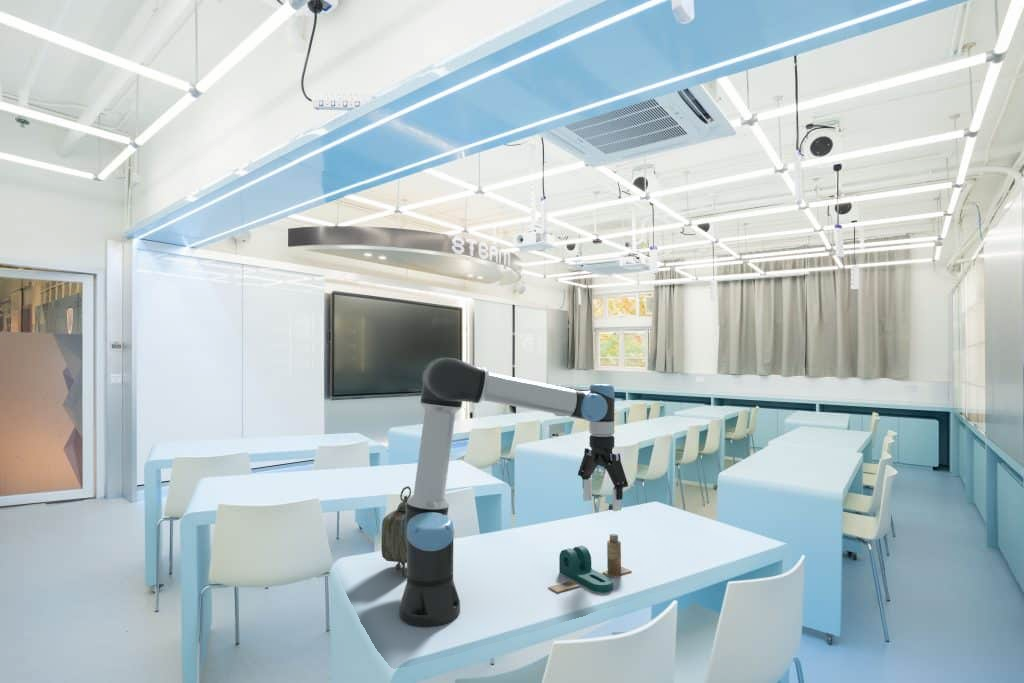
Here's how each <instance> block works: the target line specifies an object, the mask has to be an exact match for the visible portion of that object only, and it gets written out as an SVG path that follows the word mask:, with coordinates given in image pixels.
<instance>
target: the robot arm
mask: <svg viewBox="0 0 1024 683" xmlns="http://www.w3.org/2000/svg"><path fill="white" fill-rule="evenodd" d="M421 384H422V390H421V396H420V397H421V398H420V405H421V406H422V407H423V409H424V415H423V420H422V421H423V423H422V429H421V430H422V431H421V437H420V444H419V451H418V459H417V467H416V473H415V474H416V475H415V480H414V481H415V482H414V490H413V494H412V496H410V498H409V499H408V500H407V506H406V513H405V516H404V519H403V521H402V535H403V538H404V541H405V545H406V549H407V563H406V571H407V576H406V584H405V587H404V591H403V593H402V597H401V600H400V603H399V615H398V616H399V619H400V620H401V621H402V622H404V623H405V624H408V625H410V626H411V625H412V626H416V627H426V628H427V627H436V626H441V625H444V624H447V623H450V622H452V621H454V620H455V619H456V618H457V617H458V616H459V615H460V613H461V600H460V598H459V594H458V591H457V587H456V584H455V581H454V537H455V529H454V522H453V519H452V518H450V517H449V516H448V514H449V507H450V506H449V503H448V501H447V500H446V499H445V495H446V487H447V480H448V471H449V464H450V454H451V448H452V441H453V436H454V435H453V434H454V425H455V419H456V418H455V417H456V413H457V412H458V411H460V410H461V409H462V407H463V402H464V403H467V402H468V403H474V404H479V403H481V402H483V401H485V402H490V403H494V404H499V405H506V406H512V407H516V408H521V409H528V410H532V411H539V412H544V413H548V414H554V415H555V416H556V417H571V418H574V419H580V420H585V421H588V422H589V431H588V432H589V434H590V435H589V447H586V448H584V453H583V456H582V457H583V458H582V461H581V463H580V466H579V468H578V472H577V476H579V477H581V479H582V489H583V491H582V497H583V502H587V501H592V498H593V497H592V492H593V490H592V489H593V487H592V484H593V479H592V477H591V476H592V474H594V472H595V470H596V468H597V467H598V466H600V467H602V468H604V470H606V471H607V474H608V476H609V478H610V480H611V482H612V484H613V486H614V487H613V488H612V511H613V512H618V511H622V500H623V498H624V497H623V492H624V490H623V489H624V488H628V487H629V482H628V480H627V477H626V474H625V470H624V467H623V464H622V459H621V453H613V449H614V448H615V436H614V434H615V402H616V398H615V387H614V386H613V385H612V384H608V383H607V384H601V383H600V384H599V383H597V384H595V383H594V384H590V386H589V389H588V390H578V389H577V390H575V389H572V388H566V387H562V386H556V385H553V384H548V383H542V382H538V381H533V380H532V381H531V380H527V379H522V378H518V377H513V376H508V375H505V374H498V373H494V372H489V371H488V369H487V368H486V367H483V366H479V365H478V366H477V365H474V364H473V363H472V364H471V363H467V362H465V361H462V360H459V359H458V358H453V357H439V358H435V359H434V360H432V361H430V362H429V363H428V364H427V365H426V366H425V368H424V369H423V372H422V375H421Z"/></svg>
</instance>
